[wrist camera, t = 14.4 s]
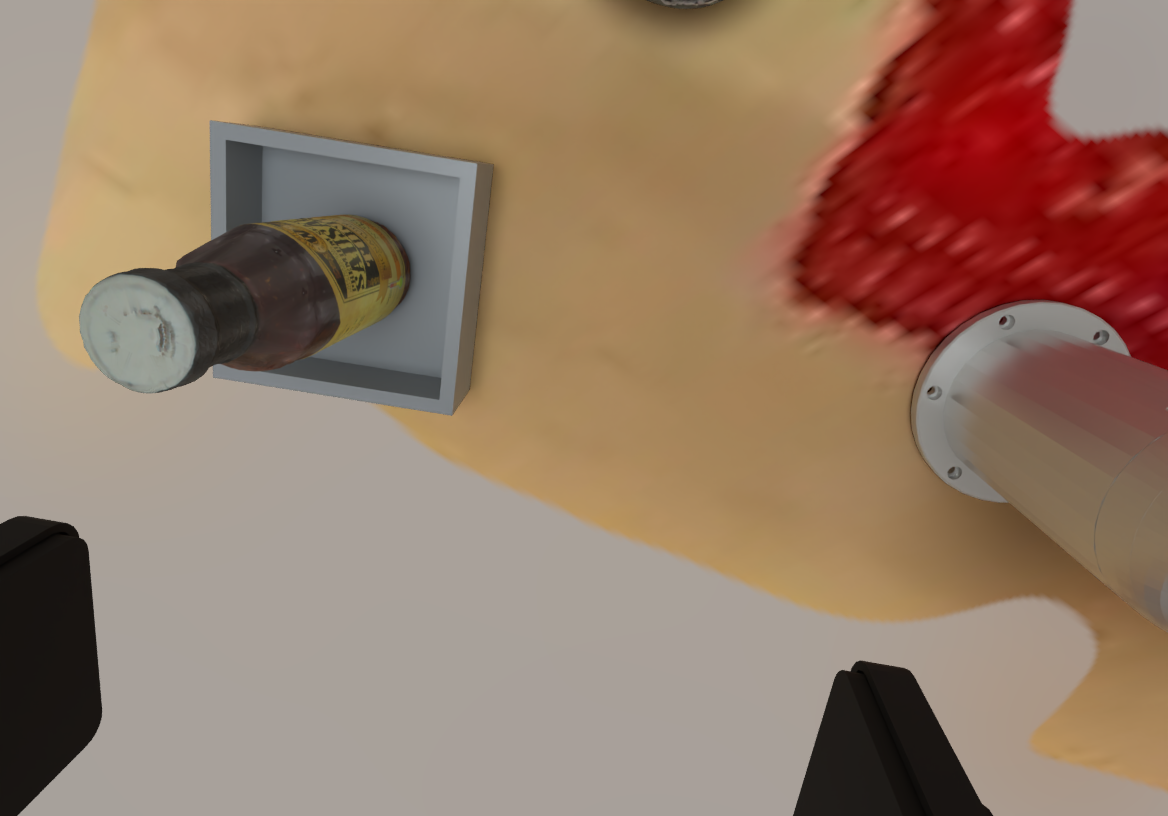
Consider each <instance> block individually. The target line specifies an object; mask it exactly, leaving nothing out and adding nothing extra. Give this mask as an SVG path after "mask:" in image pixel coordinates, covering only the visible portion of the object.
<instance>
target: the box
mask: <svg viewBox="0 0 1168 816" xmlns="http://www.w3.org/2000/svg"><path fill="white" fill-rule="evenodd" d="M493 165H494V164H489V163H483V162H477V161H471V160H465V159H458V158H452V157H446V156H440V155H434V154H427V153H421V152H415V151H409V150H403V149H397V148H390V147H384V146H378V145H372V144H366V143H359V142H353V141H347V140H341V139H335V138H329V137H322V136H316V135H310V134H304V133H298V132H291V131H285V130H279V129H273V128H267V127H260V126H253V125H245V124H236V123H228V122H219V121H211V120H210V179H211V240H213V239H215V238H217V237H218V236H220V235H222V234H224V233H226V232H227V231H229V230H231V229H233V228H235V227H237V226H240V225H243V224H252V223H263V222H272V221H279V220H290V219H300V218H312V217H322V216H332V215H357V216H360V217H363V218H366V219H368V220H371V221H374V222H378V223H379V224H381V225H384V226H385V227H386V228H387V229H388V230H389V231H390V232H392V233H393V234H394V235H395V236H396V238H397V239H398V240H399V242H400V244H401V245H402V247H403V249H404V250H405V252H406V254H407V256H408V259H409V263H410V275H411V276H410V283H409V288H408V291H407V293H406V296H405V298H404V299H403V300H402V302H401V303H400V304H399V305H398V306H397V307H396V308H395V309H394V310H393V311H392V312H391V313H390V314H389V315H388V316H387V317H385V318H384V319H382V320H381V321H379V322H377V323H375V324H373V325H371V326H369V327H367V328H365V329H363V330H361V331H359V332H357V333H355V334H353V335H351V336H349V337H347V338H345V339H343V340H341V341H339V342H337V343H335V344H333V345H331V346H329V347H327V348H325V349H323V350H321V351H319V352H318V353H316V354H314V355H311V356H309V357H307V358H304V359H300V360H296V361H295V362H293V363H291V364H287V365H285V366H283V367H281V368H278V369H274V370H268V371H256V372H254V371H244V370H237V369H234V368H230V367H227V366H224V365H222V364H216V365H213V377H214V378H220V379H226V380H232V381H238V382H245V383H251V384H257V385H264V386H270V387H276V388H282V389H289V390H295V391H301V392H307V393H314V394H320V395H326V396H333V397H339V398H345V399H352V400H357V401H364V402H370V403H376V404H383V405H389V406H395V407H401V408H408V409H414V410H420V411H426V412H433V413H439V414H445V415H451V416H452V415H453V414H454V412H455V411H456V409H457V408H458V406H459V405H460V403H461V402H462V400H463V399H464V397H465V396H466V394H467V393H468V391H469V390H470V380H471V371H472V362H473V352H474V343H475V334H476V324H477V315H478V306H479V296H480V287H481V278H482V268H483V259H484V250H485V240H486V231H487V221H488V212H489V203H490V193H491V184H492V175H493Z"/></svg>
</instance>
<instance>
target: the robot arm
mask: <svg viewBox="0 0 1168 816" xmlns="http://www.w3.org/2000/svg"><path fill="white" fill-rule="evenodd" d="M1002 317H1003V320H1002V322H1000V323H999V321H1000V319H1001V318H1002ZM931 387H932V390H931V391H930V392H927V391H928V389H929V388H931ZM911 424H912V431H913V435H914V439H915V442H916V446H917V447H918V449H919V451H920V453H921V455H922V457H923V459H924V461H925V462H926V463H927V464H928V465H929V466H930V468H931V469H932V470H933V471H934V472H935V473H936V474H937V475H938V476H939V477H940V478H941V479H942V480H943V481H944V482H945V483H947V484H948V485H950V486H951V487H953V488H955V489H956V490H958V491H960V492H961V493H963V494H966V495H968V496H971V497H974V498H977V499H980V500H985V501H991V502H997V503H1010V504H1011V505H1012V506H1014V507H1015V508H1016V509H1017V510H1018V511H1019V512H1021V513H1022V514H1023V515H1024V516H1025V517H1026V518H1028V519H1029V520H1030V521H1031V522H1032V523H1033V524H1035V525H1036V526H1037V527H1038V528H1039V529H1040V530H1042V531H1043V532H1044V533H1045V534H1046V535H1047V536H1049V537H1050V538H1051V539H1052V540H1053V541H1054V542H1055V543H1057V544H1058V545H1059V546H1060V547H1061V548H1062V549H1064V550H1065V551H1066V552H1067V553H1068V554H1069V555H1071V556H1072V557H1073V558H1074V559H1075V560H1076V561H1078V562H1079V563H1080V564H1081V565H1082V566H1083V567H1085V568H1086V569H1087V570H1088V571H1089V572H1090V573H1092V574H1093V575H1094V576H1095V577H1096V578H1097V579H1099V580H1100V581H1101V582H1102V583H1103V584H1105V585H1106V586H1107V587H1108V588H1109V589H1110V590H1112V591H1113V592H1114V593H1115V594H1116V595H1118V596H1119V597H1120V598H1121V599H1122V600H1124V601H1125V602H1126V603H1127V604H1128V605H1130V606H1131V607H1132V608H1133V609H1134V610H1136V611H1137V612H1138V613H1139V614H1140V615H1142V616H1143V617H1145V618H1146V619H1147V620H1149V621H1150V622H1151V623H1153V624H1154V625H1156V626H1157V627H1159V628H1161V629H1162V630H1164V631H1166V632H1168V370H1165V369H1162V368H1160V367H1157V366H1154V365H1151V364H1149V363H1146V362H1143V361H1141V360H1138V359H1135V358H1132V357H1131V355H1130V353H1129V351H1128V348H1127V346H1126V344H1125V343H1124V341H1123V340H1122V339H1121V337H1120V336H1119V335H1118V333H1117V332H1116V331H1115V329H1113V328H1112V327H1111V326H1110V325H1109V324H1107V323H1106V322H1105V321H1104V320H1103V319H1101V318H1100V317H1098V316H1096V315H1094V314H1092V313H1090V312H1088V311H1086V310H1084V309H1082V308H1079V307H1076V306H1073V305H1070V304H1066V303H1062V302H1055V301H1049V300H1022V301H1018V302H1013V303H1008V304H1003V305H1000V306H997V307H995V308H992V309H990V310H987V311H985V312H982V313H980V314H978V315H977V316H975V317H973V318H972V319H970V320H968V321H967V322H965V323H963V324H962V325H961V326H959V327H958V328H957V329H956V330H955V331H953V332H952V333H951V334H950V335H949V336H948V337H946V338H945V339H944V340H943V342H942V343H941V344H940V345H939V346H938V347H937V349H936V350H935V351H934V352H933V353H932V355H931V356H930V358H929V359H928V361H927V363H926V365H925V366H924V368H923V370H922V371H921V373H920V376H919V379H918V381H917V384H916V387H915V390H914V394H913V400H912V406H911ZM950 468H951V469H950ZM949 469H950V470H949ZM100 692H101V691H100V680H99V668H98V657H97V645H96V633H95V621H94V609H93V599H92V586H91V574H90V563H89V551H88V546H87V544H86V542H85V541H84V540H83V539H81V538H79V534H78V532H77V530H76V529H75V528H74V526H71V525H70V524H68V523H62V522H56V521H51V520H45V519H39V518H34V517H27V516H17V517H15V518H12V519H9V520H7V521H5V522H3V523H2V524H0V816H17V815H18V814H19V813H20V812H21V811H22V810H23V809H24V808H25V807H26V806H27V805H28V804H29V803H30V802H31V801H32V800H33V799H34V798H35V797H36V796H37V795H38V794H39V793H40V792H41V791H42V790H43V789H44V788H45V787H46V786H47V785H48V784H49V783H50V782H51V781H52V780H53V779H54V778H55V777H56V776H57V775H58V774H59V773H60V772H61V771H62V770H63V769H64V768H65V767H66V766H67V765H68V764H69V763H70V762H71V761H72V760H73V759H74V758H75V757H76V756H77V755H78V754H79V753H80V752H81V751H82V750H83V749H84V748H85V747H86V746H87V745H88V743H89V742H90V741H91V740H92V738H93V737H94V735H95V733H96V732H97V729H98V727H99V724H100V721H101V718H102V703H101V693H100ZM793 816H993V815H992V813H991V812H990V810H989V809H988V808H987V807H985V806H984V805H983V804H982V803H981V801H980V799H979V798H978V796H977V794H976V792H975V790H974V788H973V786H972V784H971V783H970V781H969V779H968V777H967V775H966V773H965V771H964V769H963V767H962V766H961V764H960V762H959V760H958V758H957V756H956V754H955V753H954V751H953V749H952V747H951V745H950V743H949V741H948V739H947V737H946V735H945V734H944V732H943V730H942V728H941V726H940V724H939V722H938V720H937V719H936V717H935V715H934V713H933V711H932V709H931V707H930V705H929V704H928V702H927V700H926V698H925V696H924V694H923V692H922V690H921V688H920V687H919V685H918V683H917V681H916V679H915V677H914V676H913V674H912V673H911V672H910V671H909V670H907V669H905V668H900V667H895V666H889V665H883V664H877V663H871V662H866V661H858V662H856V663H855V664H854V666H853V667H852V669H851V671H844V670H841V671H839V672H838V673H837V674H836V677H835V679H834V682H833V686H832V689H831V692H830V696H829V698H828V702H827V705H826V709H825V712H824V715H823V718H822V722H821V725H820V728H819V732H818V735H817V738H816V741H815V745H814V748H813V751H812V755H811V758H810V761H809V765H808V768H807V771H806V775H805V778H804V781H803V784H802V788H801V791H800V794H799V798H798V801H797V804H796V808H795V811H794V814H793Z"/></svg>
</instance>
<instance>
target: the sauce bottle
mask: <svg viewBox="0 0 1168 816" xmlns="http://www.w3.org/2000/svg"><path fill="white" fill-rule="evenodd" d="M410 276H411V275H410V263H409V259H408V256H407V254H406V252H405V250H404V249H403V247H402V245H401V244H400V242H399V240H398V239H397V238H396V236H395V235H394V234H393V233H392V232H390V231H389V230H388V229H387V228H386V227H385V226H384V225H381V224H379V223H378V222H374V221H371V220H368V219H366V218H363V217H360V216H357V215H332V216H322V217H312V218H300V219H290V220H279V221H272V222H263V223H252V224H243V225H240V226H237V227H235V228H233V229H231V230H229V231H227V232H226V233H224V234H222V235H220V236H218V237H217V238H215V239H213V240H211V241H209V242H208V243H206V244H204V245H202V246H200V247H199V248H197V249H195V250H193V251H192V252H190V253H188V254H186V255H184V256H183V257H182V258H181V259H179V260H178V261H177V263H176V268H174V269H167V270H162V269H156V268H138V269H133V270H130V271H127V272H121V273H117V274H114V275H112V276H109V277H107V278H105V279H103V280H102V281H100V282H99V283H97V284H96V285H94V286H93V288H92V289H91V290H90V292H89V293H88V294H87V295H86V296H85V299H84V301H83V304H82V307H81V311H80V316H79V322H80V333H81V336H82V339H83V343H84V348H85V349H86V351H87V352H88V354H89V356H90V358H91V360H92V361H93V362H94V364H95V365H96V366H97V367H98V368H99V369H100V371H101V372H102V373H103V374H104V375H106V376H107V377H108V378H110V379H111V380H113V381H115V382H116V383H118V384H121V385H122V386H124V387H126V388H128V389H130V390H132V391H136V392H141V393H159V392H163V391H168V390H171V389H173V388H176V387H180V386H183V385H186V384H189V383H191V382H193V381H195V380H197V379H198V378H200V377H201V376H203V375H204V374H205V372H206V371H207V370H208V368H209V367H211V366H213V365H216V364H222V365H224V366H227V367H230V368H234V369H237V370H244V371H254V372H256V371H268V370H274V369H278V368H281V367H283V366H285V365H287V364H291V363H293V362H295V361H296V360H300V359H304V358H307V357H309V356H311V355H314V354H316V353H318V352H319V351H321V350H323V349H325V348H327V347H329V346H331V345H333V344H335V343H337V342H339V341H341V340H343V339H345V338H347V337H349V336H351V335H353V334H355V333H357V332H359V331H361V330H363V329H365V328H367V327H369V326H371V325H373V324H375V323H377V322H379V321H381V320H382V319H384V318H385V317H387V316H388V315H389V314H390V313H391V312H392V311H393V310H394V309H395V308H396V307H397V306H398V305H399V304H400V303H401V302H402V300H403V299H404V298H405V296H406V293H407V291H408V288H409V283H410Z"/></svg>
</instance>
